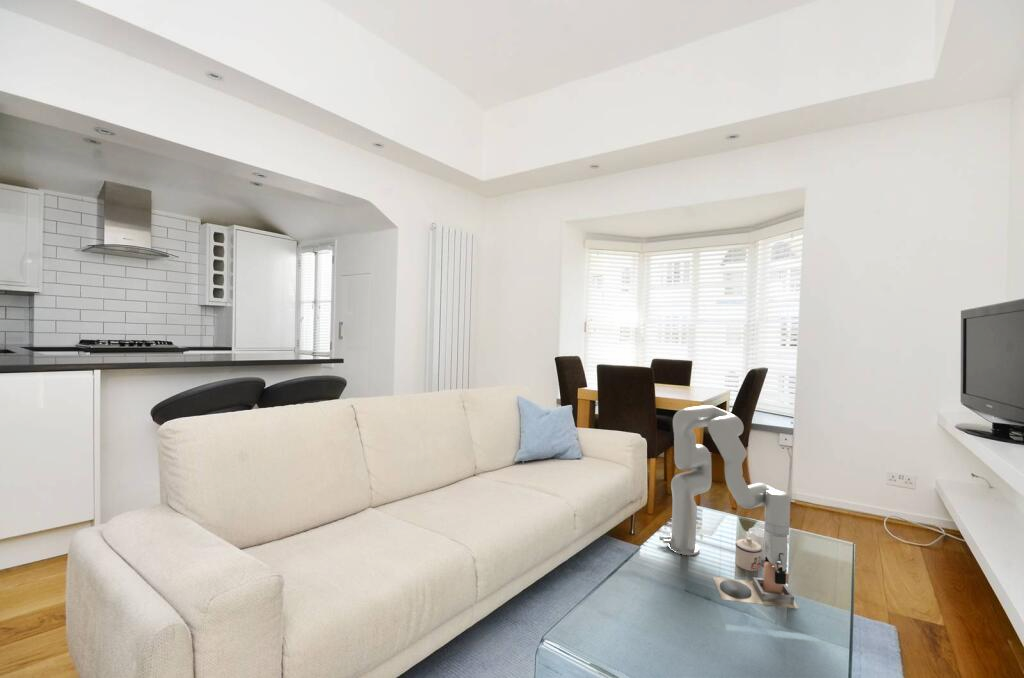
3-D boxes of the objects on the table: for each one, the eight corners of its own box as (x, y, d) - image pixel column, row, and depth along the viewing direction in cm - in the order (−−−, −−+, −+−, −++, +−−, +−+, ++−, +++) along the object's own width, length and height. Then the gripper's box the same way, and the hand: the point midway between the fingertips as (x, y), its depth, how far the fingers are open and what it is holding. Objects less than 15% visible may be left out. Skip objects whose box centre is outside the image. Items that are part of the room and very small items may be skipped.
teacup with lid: (755, 576, 180) (757, 546, 180) (730, 567, 187) (732, 537, 186) (767, 565, 189) (768, 536, 188) (742, 556, 195) (744, 528, 194)
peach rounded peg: (765, 597, 165) (767, 569, 165) (760, 587, 171) (761, 560, 171) (790, 600, 164) (791, 572, 163) (783, 590, 170) (785, 563, 169)
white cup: (764, 551, 199) (765, 528, 198) (772, 562, 191) (774, 537, 191) (744, 550, 200) (745, 527, 199) (751, 560, 192) (753, 536, 191)
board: (721, 602, 164) (722, 592, 164) (712, 579, 178) (713, 570, 178) (799, 612, 160) (799, 601, 160) (783, 587, 174) (784, 577, 173)
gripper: (757, 516, 175) (755, 562, 176) (773, 537, 158) (771, 588, 159) (779, 517, 174) (777, 564, 175) (798, 539, 157) (796, 591, 158)
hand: (775, 575), depth 167 cm, fingers open, 9 cm apart
